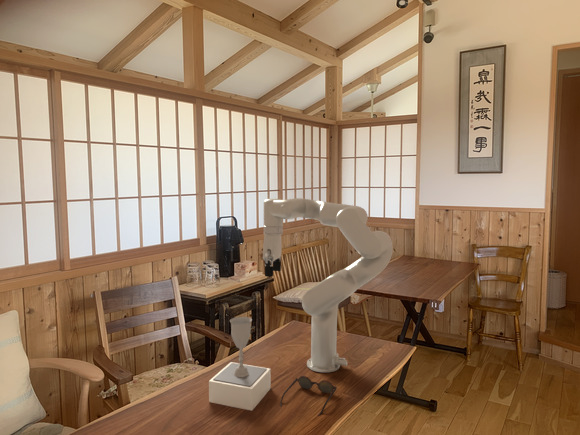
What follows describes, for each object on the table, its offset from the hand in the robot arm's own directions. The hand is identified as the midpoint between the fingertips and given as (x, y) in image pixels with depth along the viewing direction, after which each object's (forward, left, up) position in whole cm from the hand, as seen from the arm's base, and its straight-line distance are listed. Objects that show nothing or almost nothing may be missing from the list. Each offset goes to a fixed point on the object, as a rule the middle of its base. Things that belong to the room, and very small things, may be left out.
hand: (273, 273), depth 175 cm
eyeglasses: (-24, +29, -34) cm, 51 cm away
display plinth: (-2, +34, -33) cm, 47 cm away
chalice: (-2, +34, -26) cm, 43 cm away
